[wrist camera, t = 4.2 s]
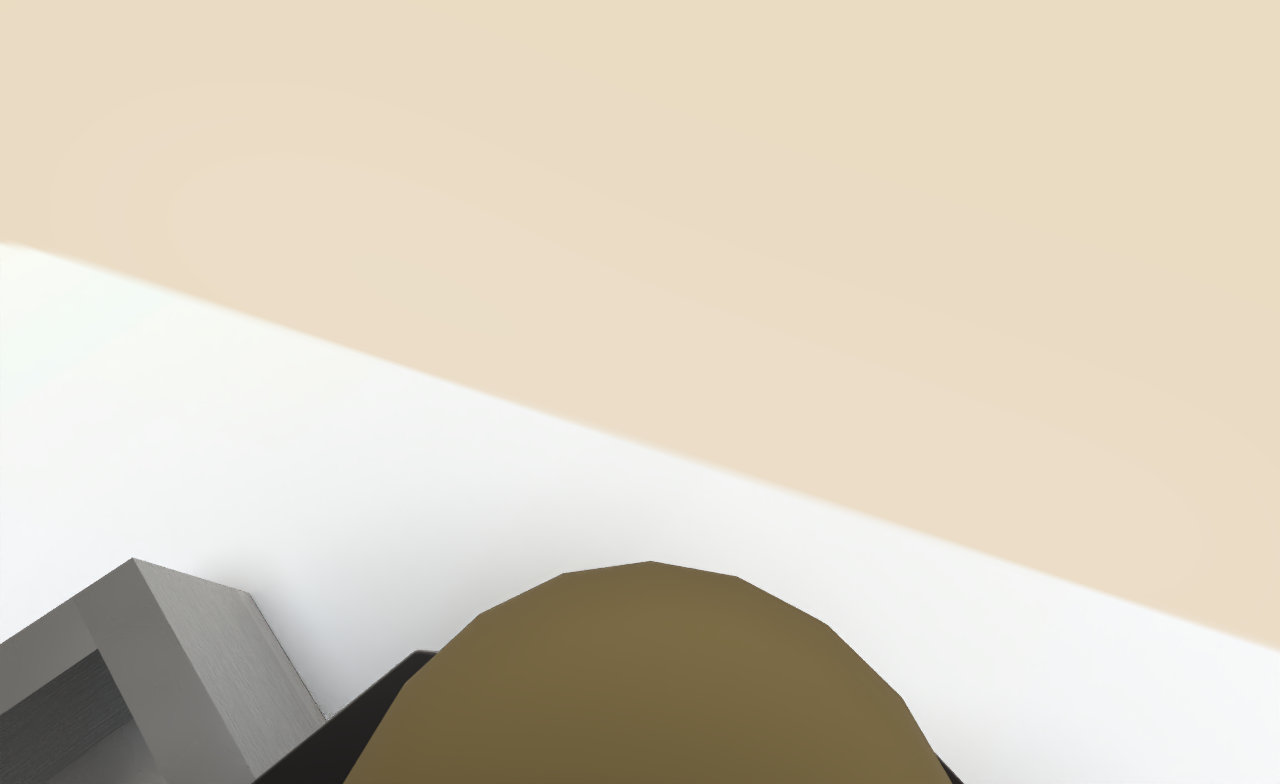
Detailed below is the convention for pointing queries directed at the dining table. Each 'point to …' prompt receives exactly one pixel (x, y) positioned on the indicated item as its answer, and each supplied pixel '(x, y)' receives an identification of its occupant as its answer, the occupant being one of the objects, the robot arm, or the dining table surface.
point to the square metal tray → (149, 687)
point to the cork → (647, 693)
